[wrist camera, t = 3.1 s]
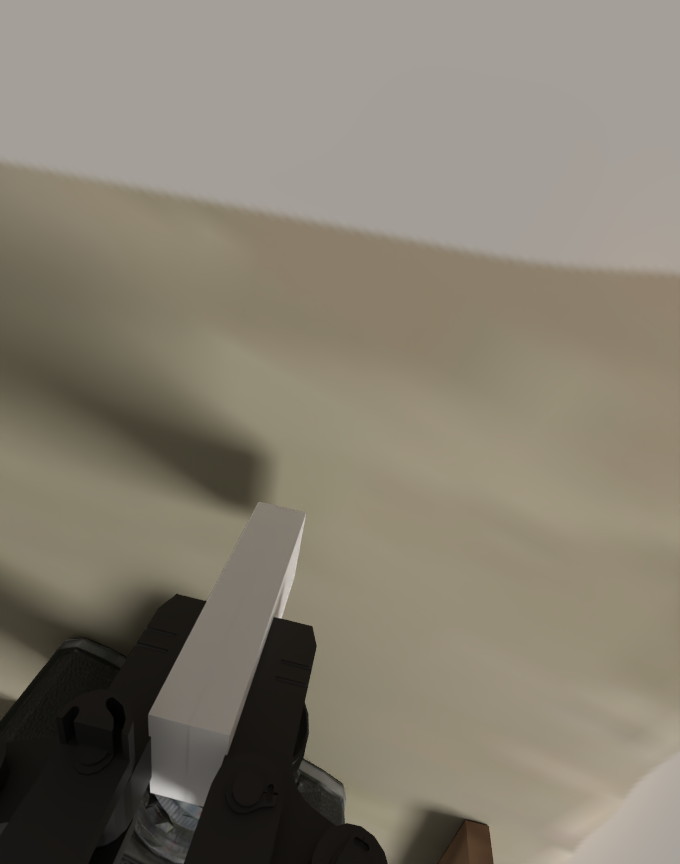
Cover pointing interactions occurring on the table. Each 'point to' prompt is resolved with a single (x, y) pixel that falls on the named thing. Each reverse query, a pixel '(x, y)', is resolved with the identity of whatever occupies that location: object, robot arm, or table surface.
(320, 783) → the camera
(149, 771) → the robot arm
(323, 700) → the table surface
